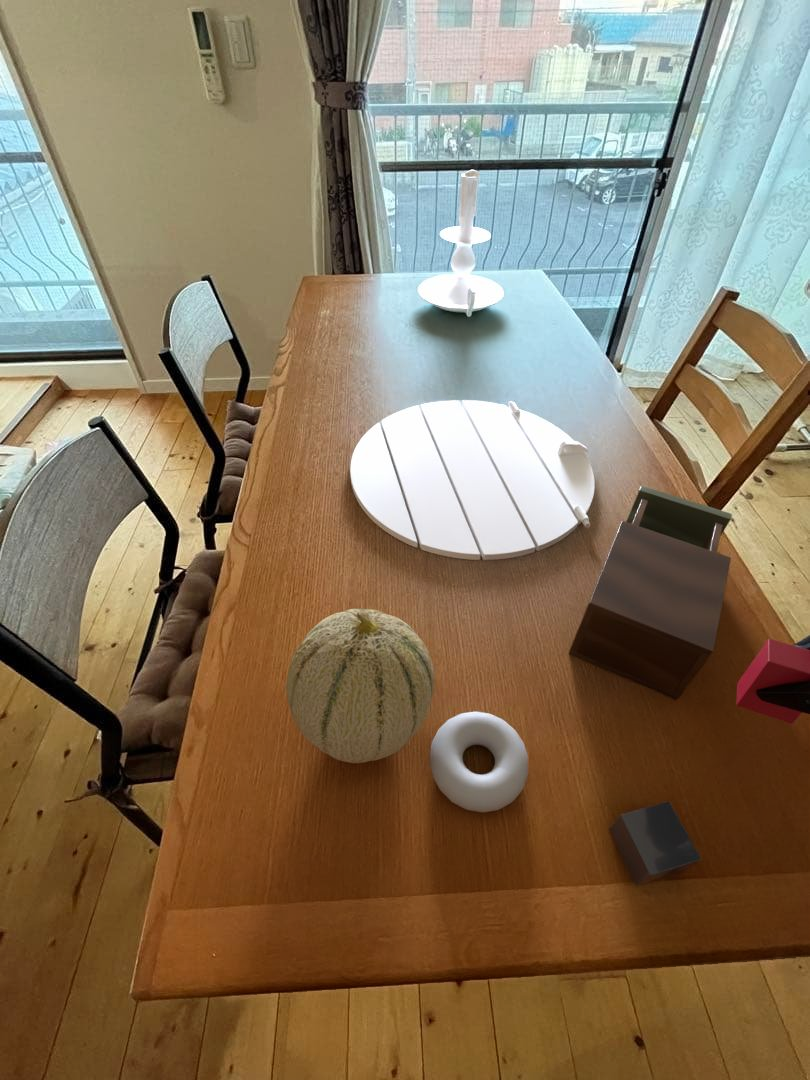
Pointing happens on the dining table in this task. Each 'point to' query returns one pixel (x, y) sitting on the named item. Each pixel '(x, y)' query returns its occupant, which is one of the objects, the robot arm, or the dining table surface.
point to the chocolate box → (773, 677)
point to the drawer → (678, 518)
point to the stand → (653, 843)
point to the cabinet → (653, 610)
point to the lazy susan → (472, 479)
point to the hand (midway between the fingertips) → (758, 681)
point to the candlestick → (463, 261)
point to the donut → (467, 785)
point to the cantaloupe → (360, 685)
